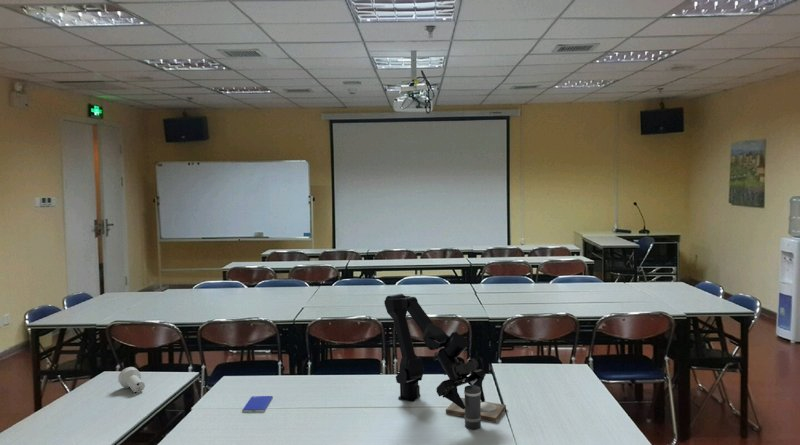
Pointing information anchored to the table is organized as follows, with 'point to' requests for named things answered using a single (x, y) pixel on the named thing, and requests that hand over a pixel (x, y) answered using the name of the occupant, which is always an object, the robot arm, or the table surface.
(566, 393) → the table surface
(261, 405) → the blue book
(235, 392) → the table surface
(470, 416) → the dark grey cylinder
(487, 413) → the mount board
